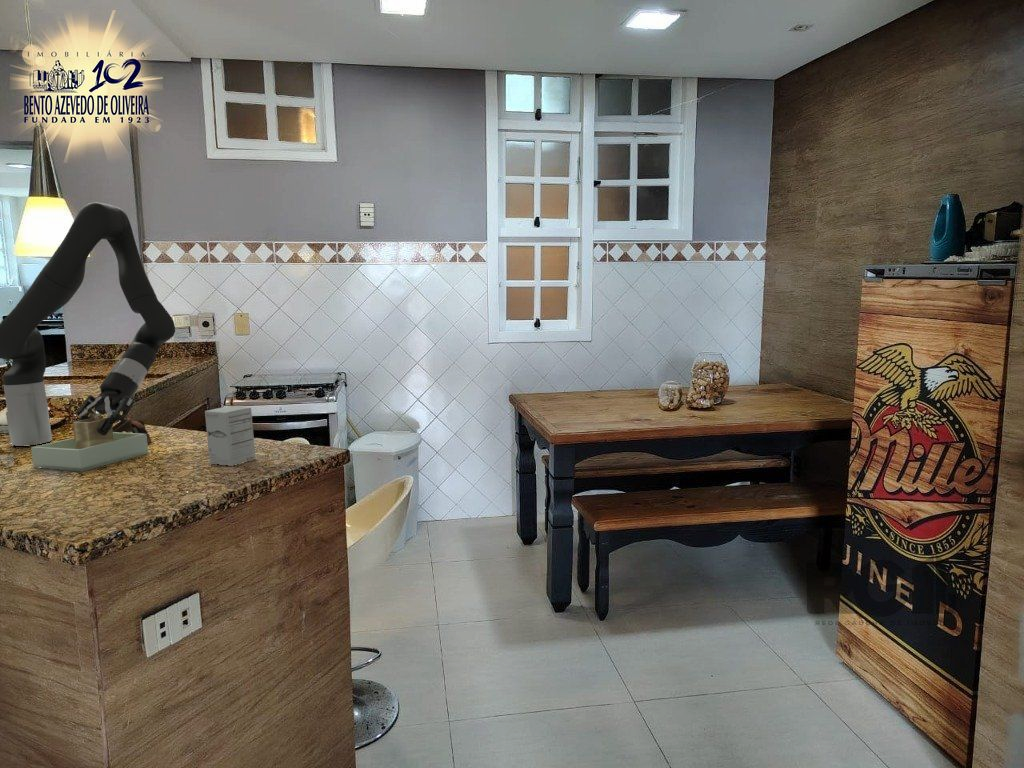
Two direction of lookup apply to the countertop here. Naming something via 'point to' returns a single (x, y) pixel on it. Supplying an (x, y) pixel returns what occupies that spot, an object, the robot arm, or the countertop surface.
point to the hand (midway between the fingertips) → (88, 432)
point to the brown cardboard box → (90, 433)
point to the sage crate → (89, 452)
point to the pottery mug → (131, 427)
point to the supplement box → (230, 435)
